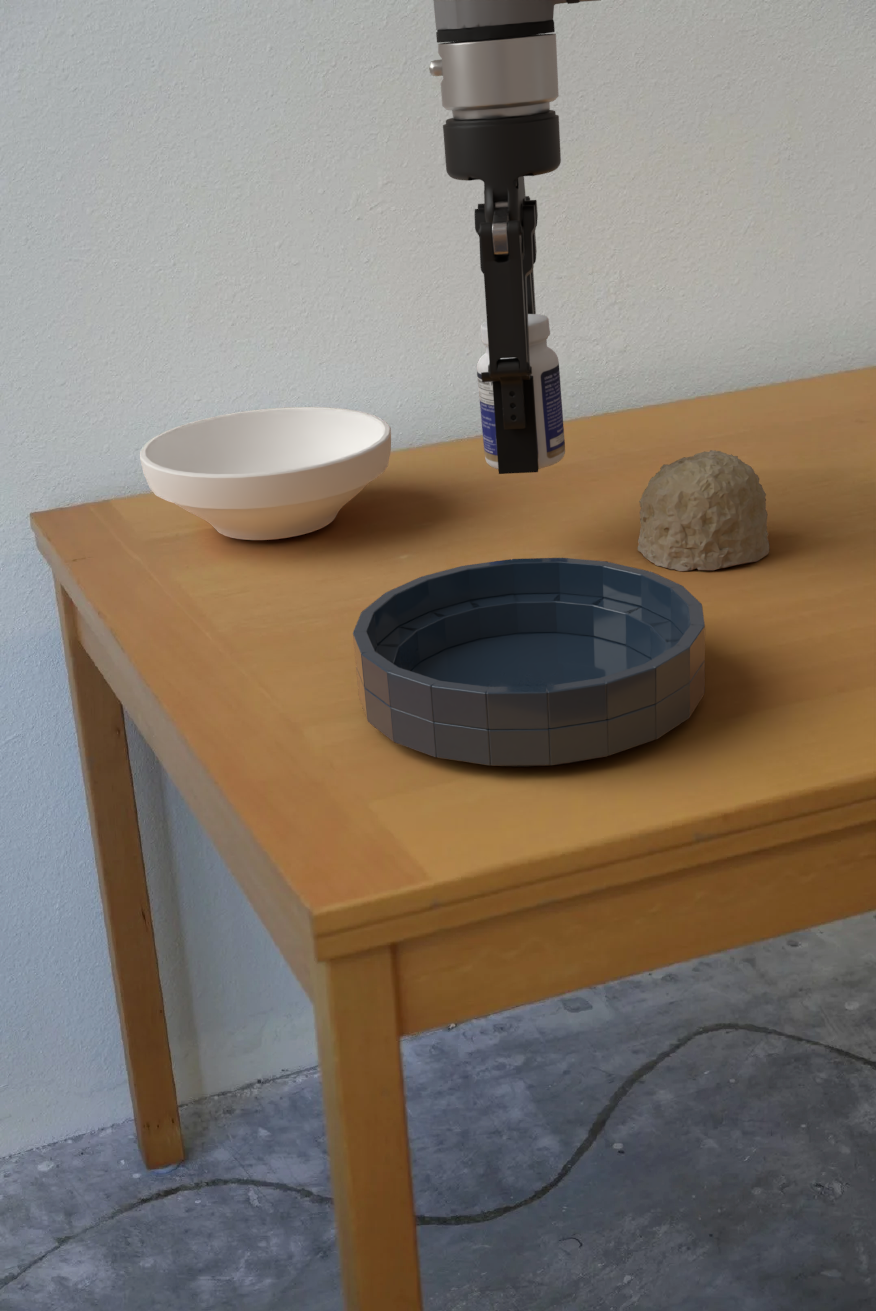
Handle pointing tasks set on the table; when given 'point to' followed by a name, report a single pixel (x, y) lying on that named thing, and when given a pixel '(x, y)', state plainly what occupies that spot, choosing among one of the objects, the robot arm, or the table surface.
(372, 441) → the bowl
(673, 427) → the table surface
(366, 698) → the blue bowl
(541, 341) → the pill bottle
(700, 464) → the beige rock
